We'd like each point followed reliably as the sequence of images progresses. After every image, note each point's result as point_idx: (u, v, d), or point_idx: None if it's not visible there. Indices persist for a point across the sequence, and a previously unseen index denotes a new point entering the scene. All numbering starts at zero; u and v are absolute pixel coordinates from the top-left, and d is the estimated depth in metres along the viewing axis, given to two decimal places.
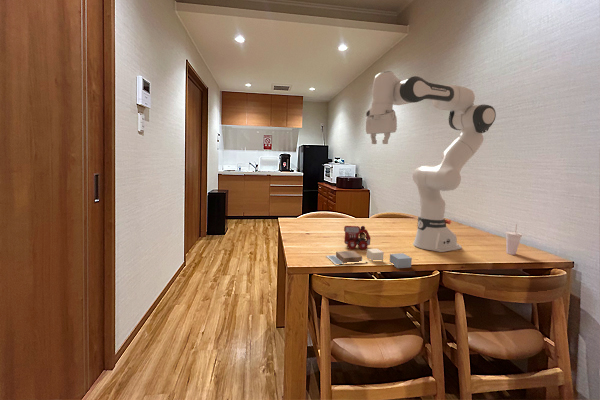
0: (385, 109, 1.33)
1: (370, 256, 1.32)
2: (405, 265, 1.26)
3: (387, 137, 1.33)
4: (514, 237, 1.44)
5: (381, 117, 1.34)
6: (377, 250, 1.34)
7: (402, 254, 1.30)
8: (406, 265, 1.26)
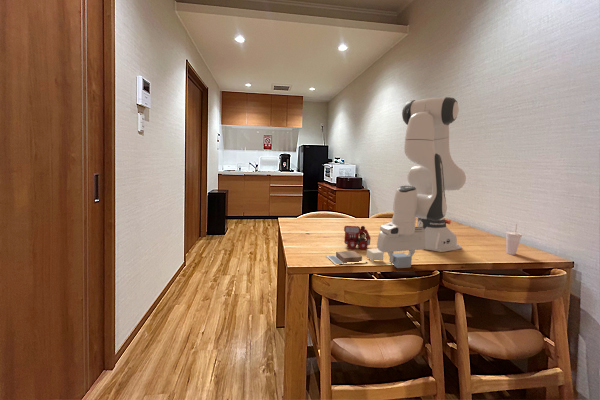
0: None
1: (370, 256, 1.32)
2: (405, 265, 1.26)
3: None
4: (514, 237, 1.44)
5: (412, 235, 1.26)
6: (377, 250, 1.34)
7: (402, 254, 1.30)
8: (406, 264, 1.26)
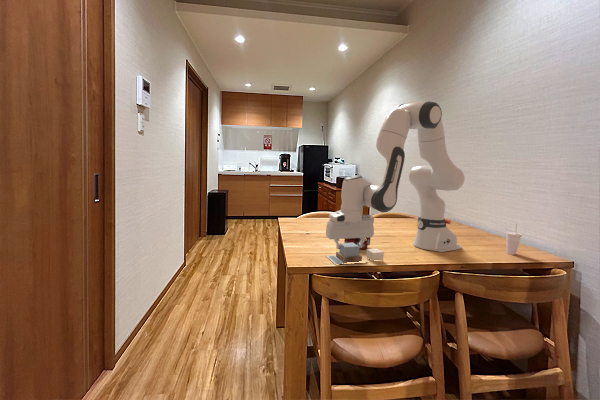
0: None
1: (371, 256, 1.32)
2: (353, 254, 1.30)
3: None
4: (514, 237, 1.44)
5: (360, 223, 1.30)
6: (377, 250, 1.34)
7: (351, 243, 1.34)
8: (354, 253, 1.30)
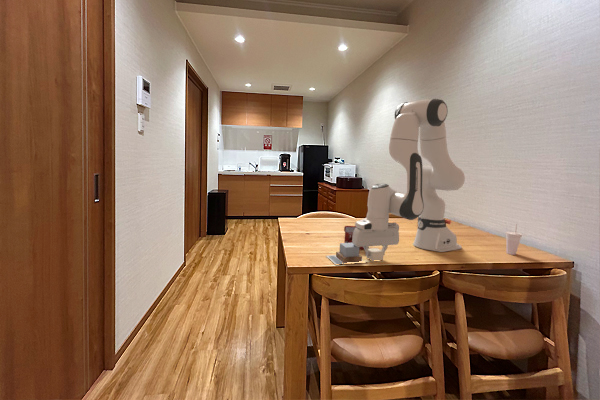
0: None
1: (371, 256, 1.32)
2: (353, 254, 1.30)
3: None
4: (514, 237, 1.44)
5: (386, 230, 1.31)
6: (377, 250, 1.34)
7: (351, 243, 1.34)
8: (354, 253, 1.30)
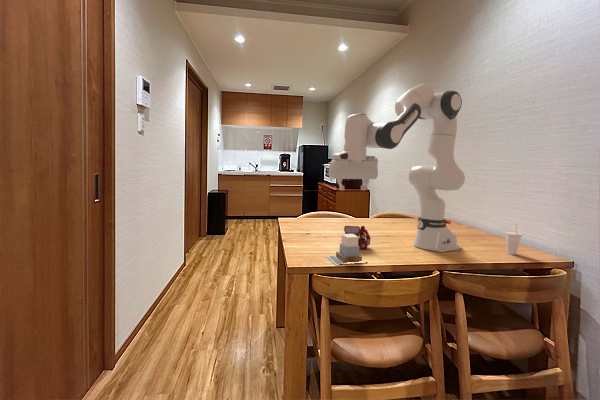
0: None
1: (345, 241, 1.30)
2: (353, 254, 1.30)
3: None
4: (514, 237, 1.44)
5: (363, 163, 1.26)
6: (352, 235, 1.32)
7: None
8: (354, 253, 1.30)
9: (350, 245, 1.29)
